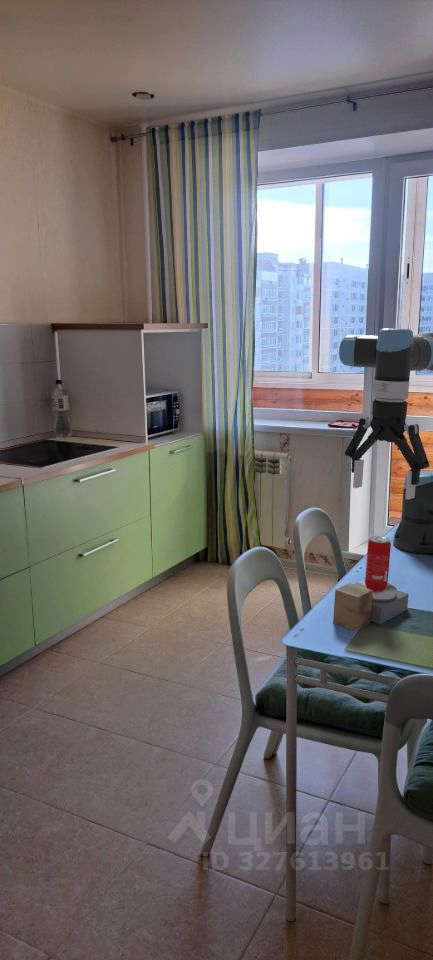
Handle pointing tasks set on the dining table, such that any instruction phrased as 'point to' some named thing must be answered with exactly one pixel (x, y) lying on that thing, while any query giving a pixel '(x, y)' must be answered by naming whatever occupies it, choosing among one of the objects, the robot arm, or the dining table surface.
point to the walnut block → (352, 606)
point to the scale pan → (382, 593)
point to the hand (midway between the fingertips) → (382, 492)
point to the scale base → (389, 608)
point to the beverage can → (377, 563)
